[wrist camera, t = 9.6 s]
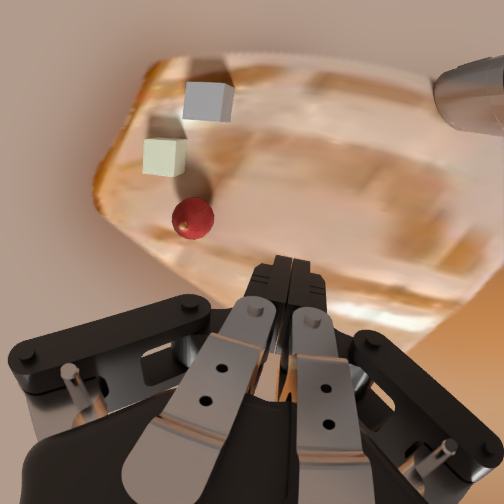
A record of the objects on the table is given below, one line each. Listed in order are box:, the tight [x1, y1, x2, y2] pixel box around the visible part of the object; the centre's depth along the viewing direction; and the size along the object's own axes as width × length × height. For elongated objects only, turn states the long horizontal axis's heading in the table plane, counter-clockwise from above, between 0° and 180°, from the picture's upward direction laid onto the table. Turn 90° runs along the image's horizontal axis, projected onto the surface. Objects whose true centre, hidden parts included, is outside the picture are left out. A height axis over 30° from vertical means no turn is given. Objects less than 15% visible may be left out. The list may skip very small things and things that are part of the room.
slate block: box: [182, 82, 235, 122], centre depth 35 cm, size 5×5×5 cm
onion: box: [172, 197, 214, 240], centre depth 40 cm, size 6×6×8 cm
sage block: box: [143, 137, 187, 177], centre depth 39 cm, size 5×5×4 cm
